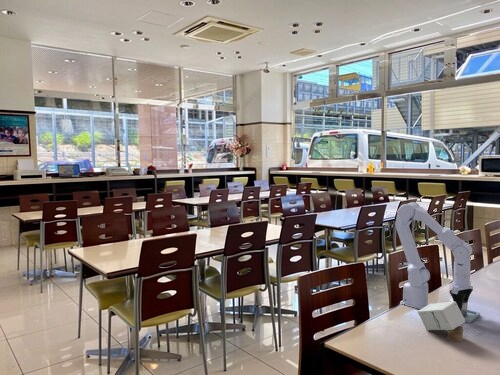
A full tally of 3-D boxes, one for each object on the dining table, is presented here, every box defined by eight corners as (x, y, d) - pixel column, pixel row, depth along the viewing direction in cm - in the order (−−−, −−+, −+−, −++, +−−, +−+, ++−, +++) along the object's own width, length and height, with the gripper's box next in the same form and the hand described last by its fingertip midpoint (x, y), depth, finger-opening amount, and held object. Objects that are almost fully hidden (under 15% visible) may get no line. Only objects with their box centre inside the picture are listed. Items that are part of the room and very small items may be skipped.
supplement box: (416, 311, 140) (442, 308, 129) (429, 303, 143) (456, 300, 132) (425, 330, 138) (452, 330, 127) (439, 322, 141) (466, 321, 130)
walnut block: (447, 338, 132) (448, 327, 131) (450, 334, 135) (450, 323, 135) (460, 342, 129) (461, 331, 129) (462, 337, 132) (463, 326, 132)
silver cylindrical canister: (454, 314, 151) (454, 302, 151) (458, 311, 154) (458, 299, 153) (464, 317, 148) (465, 305, 148) (468, 314, 150) (469, 302, 150)
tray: (441, 315, 151) (441, 312, 151) (451, 308, 158) (451, 305, 158) (470, 323, 144) (470, 320, 143) (480, 315, 150) (480, 312, 150)
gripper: (466, 280, 142) (464, 315, 143) (479, 272, 151) (478, 305, 153) (446, 275, 147) (445, 309, 148) (460, 268, 157) (459, 300, 158)
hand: (460, 307), depth 151 cm, fingers open, 5 cm apart
